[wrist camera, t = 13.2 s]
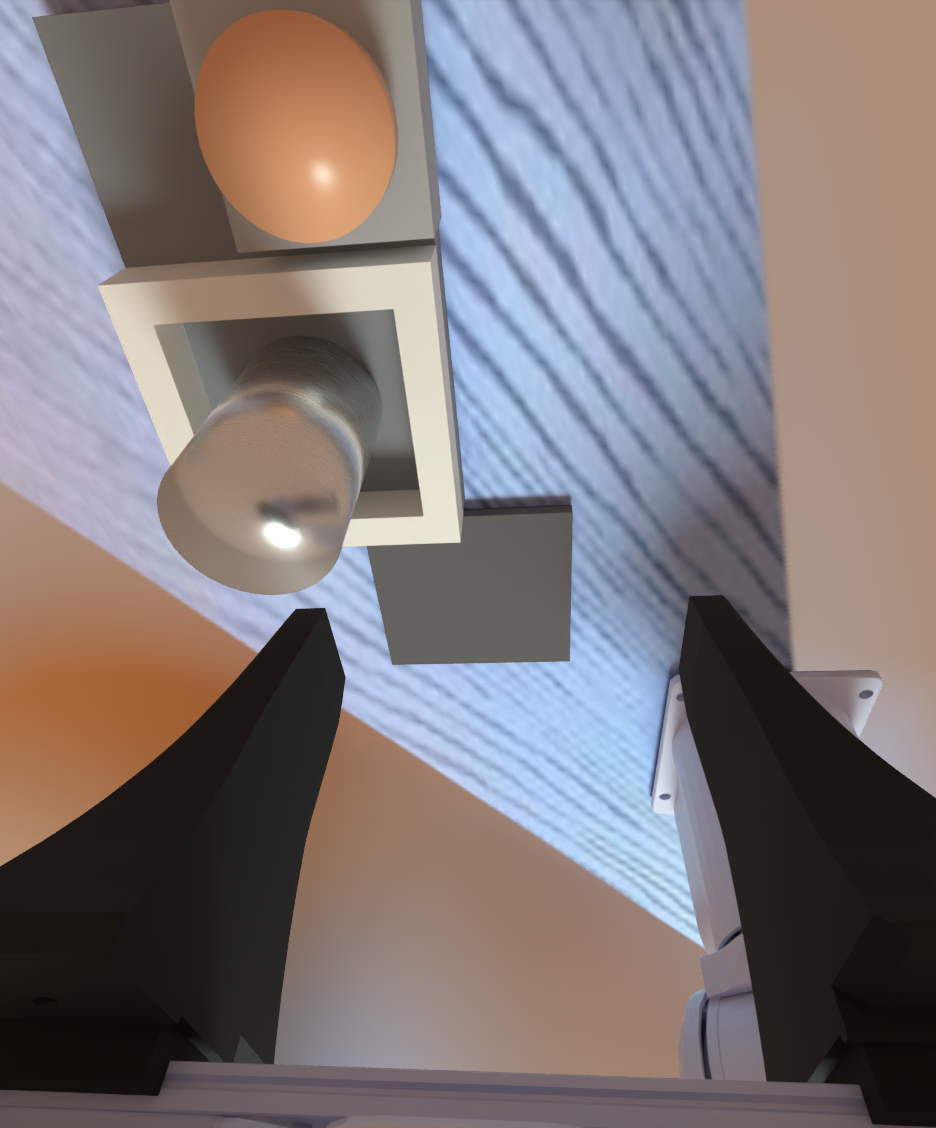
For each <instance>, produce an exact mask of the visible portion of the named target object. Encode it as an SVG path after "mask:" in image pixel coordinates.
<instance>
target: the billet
mask: <svg viewBox="0 0 936 1128" xmlns="http://www.w3.org/2000/svg"><path fill="white" fill-rule="evenodd" d="M382 410H383V409H382V400H381V396H380V392H379V390H378V387H377V384H376V382H375V380H374V379H373V377H372V375H371V374H370V372H369V371H368V369H367V368H366V367H365V366H364V365H363V363H362V362H361V361H360V360H359V359H358V358H356V357H355V356H354V355H353V354H352V353H350V352H349V351H347V350H346V349H345V348H343V347H341V346H339V345H337V344H335V343H333V342H330V341H328V340H325V339H321V338H318V337H312V336H291V337H286V338H282V339H278V340H276V341H274V342H272V343H270V344H268V345H267V346H265V347H264V348H262V349H261V350H260V351H259V352H258V353H257V354H256V355H255V356H254V358H253V359H252V360H251V362H250V363H249V364H248V366H247V367H246V368H245V369H244V371H243V372H242V373H241V375H240V376H239V377H238V379H237V380H236V381H235V383H234V384H233V385H232V387H231V388H230V389H229V390H228V392H227V393H226V394H225V396H224V397H223V398H222V400H221V401H220V402H219V404H218V405H217V406H216V408H215V409H214V410H213V411H212V413H211V414H210V415H209V417H208V418H207V419H206V421H205V422H204V423H203V425H202V426H201V427H200V429H199V430H198V431H197V432H196V434H195V435H194V436H193V438H192V439H191V440H190V442H189V443H188V444H187V446H186V447H185V448H184V449H183V451H182V452H181V453H180V455H179V456H178V457H177V459H176V460H175V461H174V463H173V464H172V465H171V467H170V468H169V469H168V470H167V472H166V473H165V475H164V477H163V479H162V481H161V484H160V487H159V490H158V498H157V506H158V514H159V518H160V522H161V524H162V527H163V530H164V532H165V534H166V535H167V537H168V539H169V541H170V542H171V544H172V545H173V547H174V548H175V549H176V550H177V551H178V553H179V554H180V555H181V556H182V557H183V558H184V559H185V560H186V561H187V562H188V563H189V564H190V565H192V566H193V567H194V568H196V569H197V570H198V571H199V572H201V573H203V574H204V575H206V576H207V577H209V578H211V579H213V580H215V581H217V582H218V583H221V584H223V585H225V586H228V587H230V588H234V589H237V590H240V591H244V592H249V593H254V594H263V595H279V594H288V593H293V592H297V591H300V590H303V589H306V588H308V587H310V586H312V585H314V584H315V583H317V582H319V581H320V580H321V579H323V578H324V577H325V576H326V575H327V574H328V573H329V572H330V571H331V569H332V568H333V567H334V565H335V563H336V562H337V560H338V557H339V554H340V552H341V549H342V545H343V542H344V539H345V536H346V533H347V530H348V527H349V523H350V520H351V517H352V514H353V511H354V508H355V505H356V501H357V498H358V495H359V492H360V489H361V486H362V483H363V480H364V476H365V473H366V470H367V467H368V464H369V461H370V458H371V454H372V451H373V448H374V445H375V442H376V439H377V436H378V432H379V429H380V426H381V421H382Z"/></svg>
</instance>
